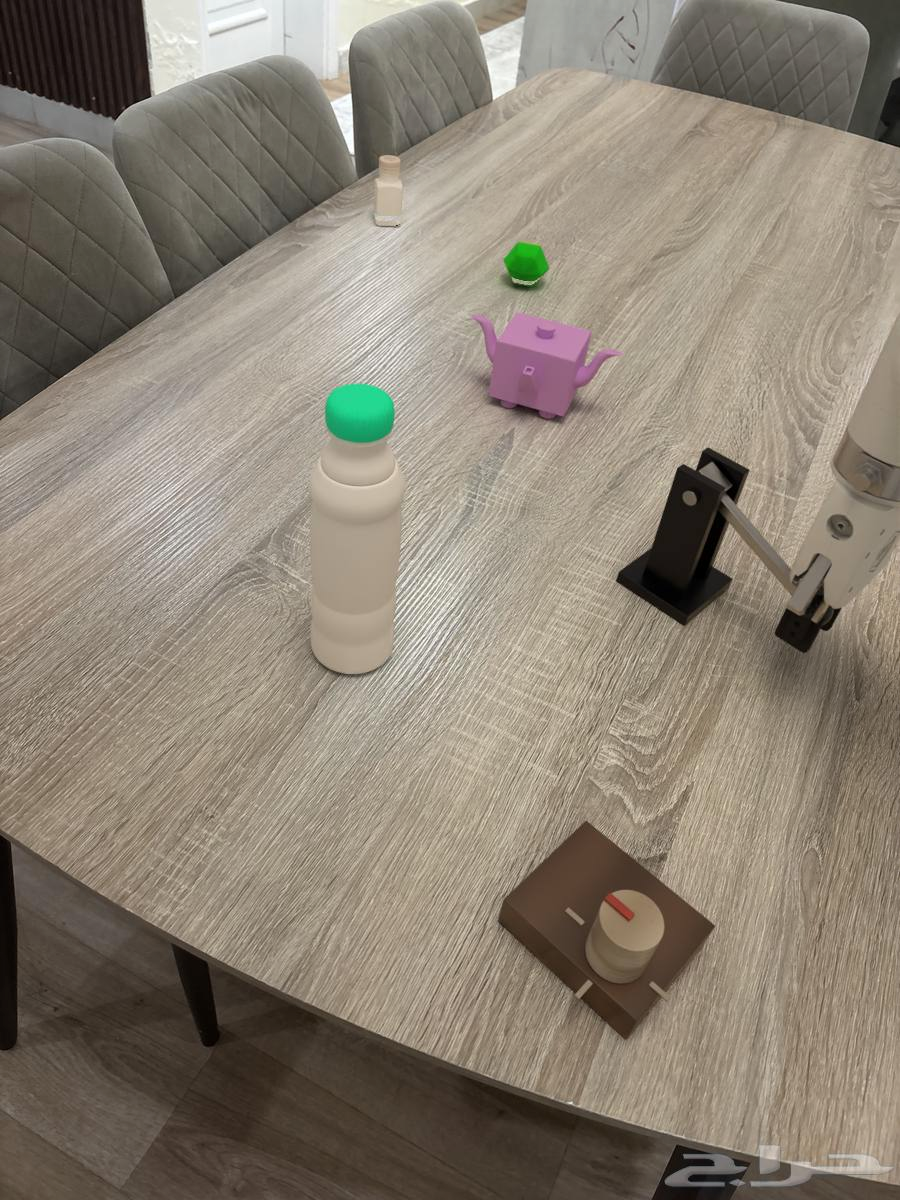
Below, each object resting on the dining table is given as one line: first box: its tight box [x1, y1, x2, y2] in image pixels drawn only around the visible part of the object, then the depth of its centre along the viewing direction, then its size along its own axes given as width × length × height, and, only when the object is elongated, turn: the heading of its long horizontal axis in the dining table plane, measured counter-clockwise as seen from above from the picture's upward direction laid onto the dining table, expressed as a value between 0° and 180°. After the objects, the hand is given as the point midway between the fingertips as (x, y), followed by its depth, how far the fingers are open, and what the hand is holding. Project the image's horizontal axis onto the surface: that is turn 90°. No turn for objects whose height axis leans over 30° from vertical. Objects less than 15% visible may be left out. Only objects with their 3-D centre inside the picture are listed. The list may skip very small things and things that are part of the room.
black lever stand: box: [615, 446, 751, 626], centre depth 86 cm, size 8×8×14 cm
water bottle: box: [308, 382, 406, 675], centre depth 72 cm, size 7×7×25 cm
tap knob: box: [585, 890, 664, 984], centre depth 58 cm, size 4×4×5 cm
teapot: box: [470, 311, 623, 420], centre depth 109 cm, size 18×13×10 cm
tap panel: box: [497, 820, 716, 1041], centre depth 63 cm, size 12×11×3 cm
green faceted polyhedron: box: [503, 241, 550, 287], centre depth 134 cm, size 7×6×9 cm
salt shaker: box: [373, 154, 404, 227], centre depth 143 cm, size 4×4×10 cm
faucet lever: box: [698, 462, 834, 625], centre depth 82 cm, size 17×3×3 cm, turn 45°
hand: (802, 630), depth 83 cm, fingers closed on faucet lever, 3 cm apart
